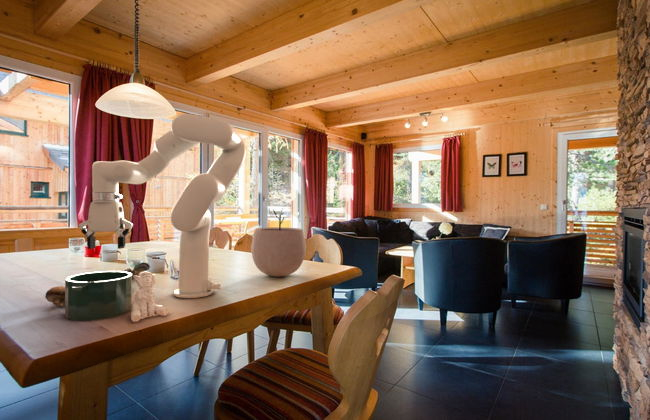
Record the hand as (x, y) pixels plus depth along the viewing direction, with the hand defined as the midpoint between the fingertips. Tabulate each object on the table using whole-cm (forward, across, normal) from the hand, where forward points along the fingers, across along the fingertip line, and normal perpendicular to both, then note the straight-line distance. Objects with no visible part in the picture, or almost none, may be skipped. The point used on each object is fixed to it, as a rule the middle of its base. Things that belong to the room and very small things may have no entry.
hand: (106, 248), depth 119 cm
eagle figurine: (+15, 0, -22) cm, 27 cm away
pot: (+16, -9, +21) cm, 27 cm away
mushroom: (+15, +5, +15) cm, 22 cm away
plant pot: (+17, -56, -32) cm, 67 cm away
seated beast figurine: (+16, -23, +24) cm, 37 cm away
